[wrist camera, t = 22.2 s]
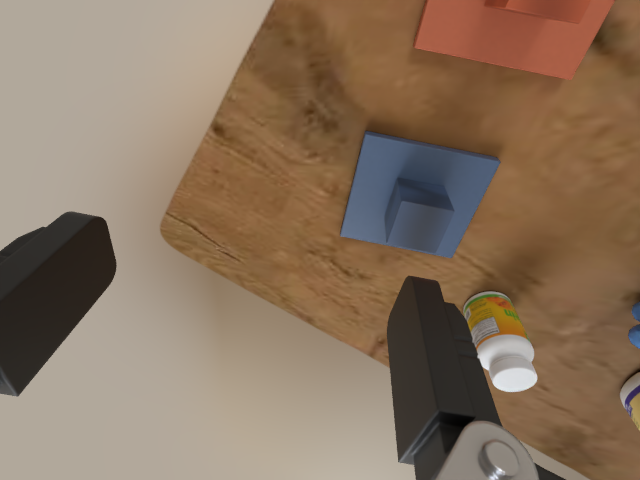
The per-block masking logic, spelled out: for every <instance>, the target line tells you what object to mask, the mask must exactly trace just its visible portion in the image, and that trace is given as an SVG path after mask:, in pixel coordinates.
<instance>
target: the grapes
mask: <svg viewBox="0 0 640 480" xmlns="http://www.w3.org/2000/svg"><path fill="white" fill-rule="evenodd" d="M632 314H633V316H634V318H635V319H636V320H637V321H639V322H640V301H639V302H638V303H636V304H635V305H633V307H632ZM628 336H629V339H630V341H631V343H632V344H633V345H635V346H636V347H637V348H639V349H640V324H639V325H636V326H634V327H633V328H631V329H630V330H629V334H628Z"/></svg>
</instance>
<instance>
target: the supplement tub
mask: <svg viewBox="0 0 640 480" xmlns="http://www.w3.org/2000/svg"><path fill="white" fill-rule="evenodd" d="M620 398H621V401H622V404H623V406H624V408H625V409H626V410H627V412H628V413H629V415H630V417H631V418H632V420H633V421H634V423H635V424H636V426H637V428H638V429H639V431H640V372H638V373H637V374H635V375H634V376H632V377H631V378H630V379H629V380H628V381H627V382H626V383H625V384H624V385H623V387H622V389H621V392H620Z"/></svg>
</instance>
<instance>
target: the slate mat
mask: <svg viewBox="0 0 640 480" xmlns="http://www.w3.org/2000/svg"><path fill="white" fill-rule="evenodd" d="M499 164H500V160H499V159H498V158H497V157H493V156H488V155H483V154H478V153H473V152H468V151H463V150H458V149H453V148H448V147H443V146H438V145H433V144H428V143H423V142H418V141H414V140H409V139H404V138H399V137H394V136H389V135H384V134H379V133H374V132H369V131H365V134H364V138H363V142H362V146H361V150H360V154H359V158H358V162H357V166H356V170H355V174H354V178H353V182H352V186H351V191H350V195H349V199H348V203H347V207H346V211H345V215H344V219H343V223H342V227H341V232H340V236H342V237H347V238H352V239H357V240H363V241H368V242H373V243H378V244H383V245H388V246H393V247H398V248H403V249H408V250H413V251H418V252H423V253H428V254H433V255H438V256H443V257H448V258H452V257H453V255H454V253H455V251H456V249H457V247H458V245H459V243H460V241H461V239H462V237H463V235H464V233H465V231H466V229H467V227H468V225H469V223H470V221H471V219H472V217H473V215H474V213H475V211H476V209H477V207H478V205H479V203H480V201H481V199H482V197H483V196H484V194H485V192H486V190H487V188H488V186H489V184H490V182H491V180H492V178H493V176H494V174H495V172H496V170H497V168H498V166H499ZM397 178H403V179H408V180H413V181H418V182H423V183H428V184H433V185H438V186H443V187H445V188H446V191H447V193H448V196H449V198H450V201H451V203H452V206H453V208H454V210H455V212H454V215H453V217H452V219H451V221H450V223H449V225H448V227H447V230H446V232H445V234H444V236H443V238H442V240H441V243H440V245H439V247H438V249H437V251H436V253H430V252H425V251H420V250H415V249H410V248H405V247H400V246H395V245H390V244H387V243H386V232H385V220H384V217H385V213H386V210H387V207H388V204H389V201H390V198H391V195H392V192H393V189H394V186H395V183H396V180H397Z"/></svg>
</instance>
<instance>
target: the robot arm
mask: <svg viewBox="0 0 640 480" xmlns="http://www.w3.org/2000/svg"><path fill="white" fill-rule="evenodd" d="M115 272H116V259H115V256H114V251H113V247H112V243H111V239H110V234H109V231H108V226H107V223H106V221H105V220H104V219H103V218H101V217H97V216H92V215H87V214H82V213H76V212H66V213H64V214H63V215H61V216H60V217H59V218H57V219H56V220H55V221H54V222H52V223H51V224H50V225H48V226H47V227H41V228H39V229H37V230H35V231H32V232H30V233H28V234H25V235H23V236H21V237H18V238H17V239H16V240H14V241H13V242H12V243H10V244H9V245H8V246H6V247H5V248H4V249H2V250H1V251H0V394H7V395H12V396H19V395H20V393H21V392H22V391H23V390H24V388H25V387H26V386H27V385H28V384H29V382H30V381H31V380H32V379H33V378H34V376H35V375H36V374H37V373H38V372H39V370H40V369H41V368H42V367H43V365H44V364H45V363H46V362H47V361H48V359H49V358H50V357H51V356H52V355H53V353H54V352H55V351H56V350H57V348H58V347H59V346H60V345H61V344H62V342H63V341H64V340H65V339H66V337H67V336H68V335H69V334H70V333H71V331H72V330H73V329H74V328H75V326H76V325H77V324H78V323H79V321H80V320H81V319H82V318H83V317H84V315H85V314H86V313H87V312H88V311H89V309H90V308H91V307H92V306H93V305H94V303H95V302H96V301H97V300H98V298H99V297H100V296H101V295H102V293H103V292H104V291H105V290H106V289H107V287H108V286H109V285H110V283H111V282H112V280H113V278H114V275H115ZM387 340H388V351H389V362H390V373H391V385H392V396H393V407H394V418H395V430H396V441H397V452H398V462H400V463H406V464H413V465H414V467H415V475H416V480H565V479H563V478H561V477H560V476H558V475H556V474H554V473H552V472H550V471H547V470H546V469H544V468H542V467H540V466H539V465H537V464H536V463H534V462H533V460H532V458H531V456H530V454H529V453H528V451H527V450H526V448H525V447H524V446H523V445H522V443H521V442H520V441H519V440H518V439H517V438H516V437H515V436H514V435H513V434H511V433H510V432H509V431H507V430H506V429H504V428H503V426H502V424H501V422H500V419H499V416H498V413H497V410H496V407H495V404H494V401H493V398H492V395H491V392H490V389H489V386H488V383H487V380H486V377H485V374H484V371H483V368H482V365H481V362H480V359H479V358H478V357H477V356H478V353H477V350H476V347H475V344H474V343H473V342H472V340H473V338H472V335H471V332H470V329H469V326H468V323H467V320H466V319H465V318H464V316H463V315H462V314H461V312H460V311H459V310H458V308H457V307H456V306H455V304H452V303H447V302H444V299H443V296H442V292H441V288H440V285H439V283H438V282H437V281H435V280H430V279H425V278H419V277H414V276H408V277H407V278H406V279H405V281H404V283H403V285H402V288H401V290H400V292H399V295H398V297H397V299H396V301H395V304H394V306H393V308H392V310H391V313H390V316H389V320H388V326H387Z"/></svg>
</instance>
